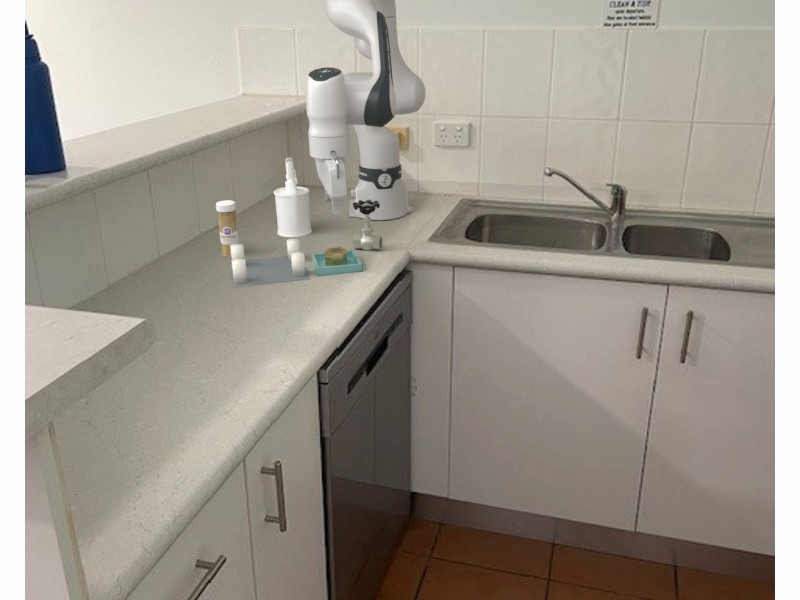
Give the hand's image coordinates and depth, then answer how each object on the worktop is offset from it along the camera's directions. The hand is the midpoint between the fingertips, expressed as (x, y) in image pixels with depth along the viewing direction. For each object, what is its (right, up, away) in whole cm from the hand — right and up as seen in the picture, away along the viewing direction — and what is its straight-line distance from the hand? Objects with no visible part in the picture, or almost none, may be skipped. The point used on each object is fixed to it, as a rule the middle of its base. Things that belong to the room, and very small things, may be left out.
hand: (333, 208), depth 163 cm
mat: (-15, -14, +4) cm, 21 cm away
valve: (+7, -9, +16) cm, 20 cm away
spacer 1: (-23, -13, +7) cm, 27 cm away
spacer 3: (-10, -11, +9) cm, 18 cm away
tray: (0, -13, +5) cm, 14 cm away
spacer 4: (-8, -15, 0) cm, 17 cm away
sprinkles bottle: (-26, -10, +15) cm, 32 cm away
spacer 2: (-20, -17, -3) cm, 26 cm away
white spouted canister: (-13, -3, +30) cm, 33 cm away
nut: (0, -13, +5) cm, 14 cm away
